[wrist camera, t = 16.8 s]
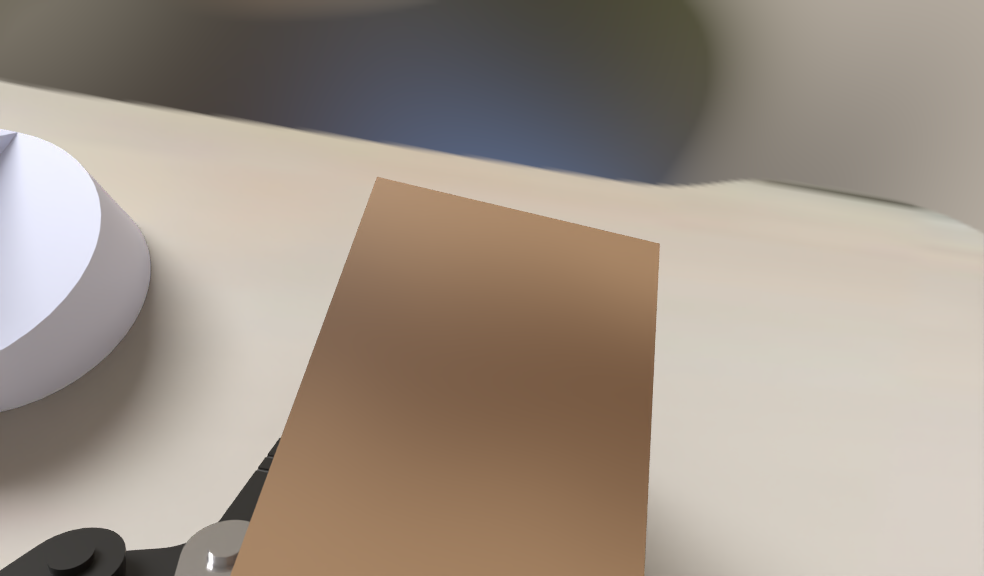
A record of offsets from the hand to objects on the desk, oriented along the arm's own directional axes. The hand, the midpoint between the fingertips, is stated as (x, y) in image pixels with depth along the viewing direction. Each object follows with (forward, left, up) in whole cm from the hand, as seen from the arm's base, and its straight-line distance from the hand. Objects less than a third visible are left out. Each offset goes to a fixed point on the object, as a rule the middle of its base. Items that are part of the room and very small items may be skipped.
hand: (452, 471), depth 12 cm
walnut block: (0, -1, -4) cm, 4 cm away
